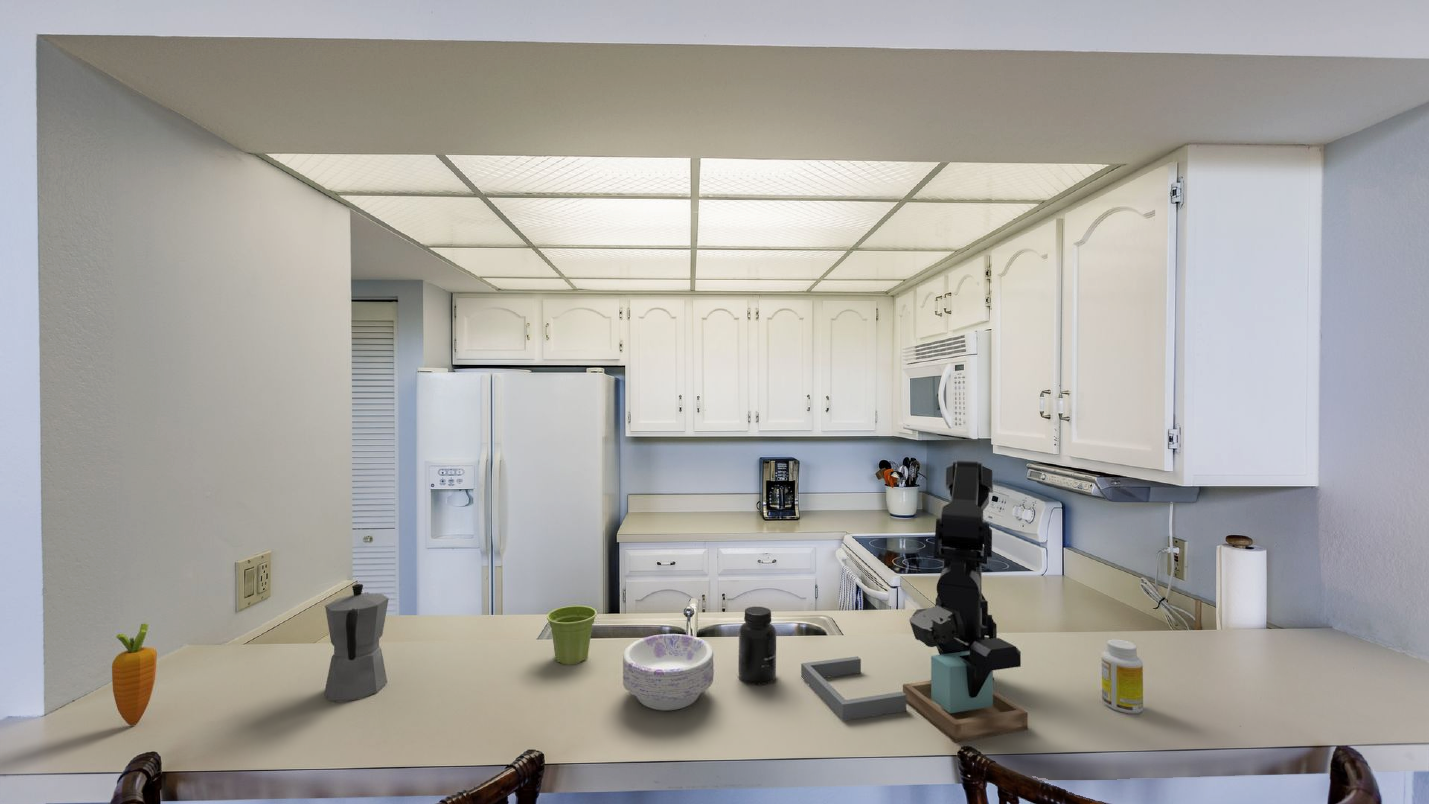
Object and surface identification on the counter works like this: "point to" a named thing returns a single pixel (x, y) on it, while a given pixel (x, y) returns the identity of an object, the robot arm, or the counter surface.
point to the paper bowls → (668, 670)
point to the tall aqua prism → (956, 684)
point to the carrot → (133, 676)
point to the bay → (851, 707)
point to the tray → (967, 715)
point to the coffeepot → (356, 645)
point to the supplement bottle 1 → (757, 647)
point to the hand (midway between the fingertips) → (962, 690)
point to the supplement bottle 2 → (1122, 677)
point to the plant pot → (571, 632)
